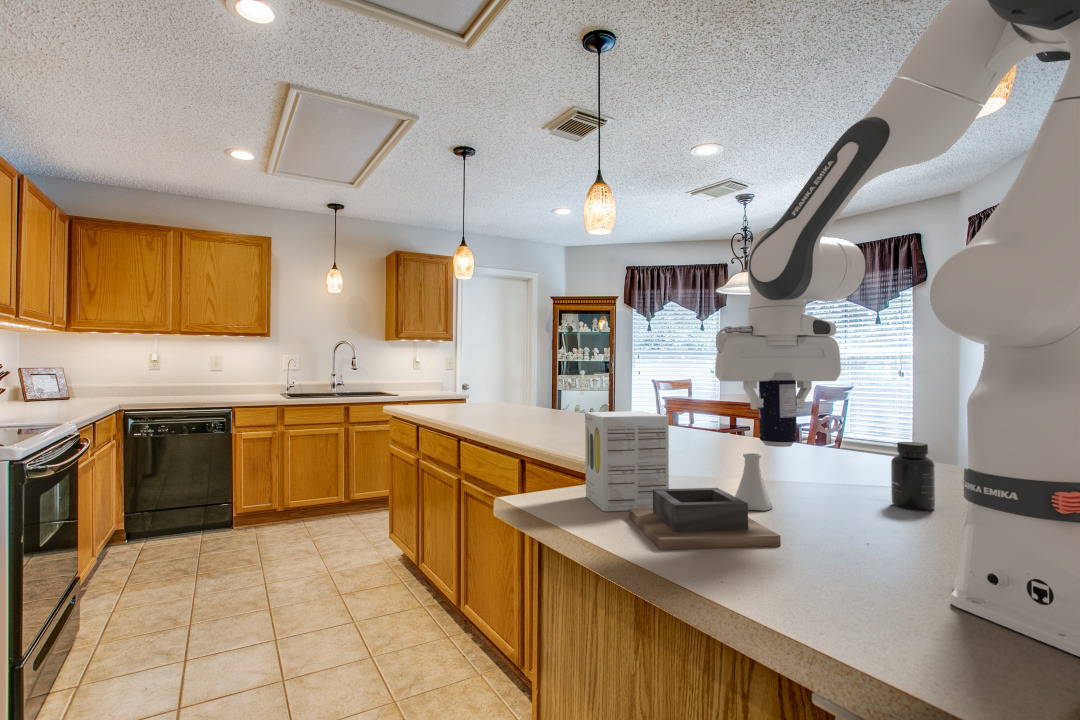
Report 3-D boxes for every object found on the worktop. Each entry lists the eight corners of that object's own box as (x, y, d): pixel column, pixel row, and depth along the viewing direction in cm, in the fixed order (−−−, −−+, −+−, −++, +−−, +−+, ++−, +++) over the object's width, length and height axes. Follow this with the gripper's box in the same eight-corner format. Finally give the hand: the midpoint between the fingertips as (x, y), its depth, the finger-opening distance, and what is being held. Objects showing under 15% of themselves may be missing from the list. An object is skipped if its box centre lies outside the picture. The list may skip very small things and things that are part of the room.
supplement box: (584, 496, 113) (583, 411, 114) (644, 493, 116) (644, 410, 116) (602, 512, 100) (602, 416, 101) (670, 509, 103) (670, 415, 103)
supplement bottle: (883, 504, 105) (882, 442, 105) (905, 501, 108) (904, 440, 108) (921, 513, 99) (919, 446, 99) (943, 509, 102) (942, 444, 102)
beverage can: (790, 443, 94) (789, 373, 94) (801, 447, 89) (800, 373, 89) (755, 442, 95) (755, 373, 95) (764, 447, 89) (764, 373, 90)
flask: (729, 509, 102) (728, 455, 103) (735, 501, 109) (734, 450, 109) (771, 513, 99) (770, 458, 99) (774, 505, 105) (774, 452, 106)
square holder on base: (780, 545, 80) (780, 508, 81) (660, 549, 79) (660, 511, 79) (727, 514, 98) (727, 483, 98) (629, 517, 97) (628, 485, 97)
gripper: (723, 324, 88) (724, 410, 88) (846, 325, 90) (847, 409, 89) (708, 327, 95) (709, 408, 94) (823, 328, 96) (824, 407, 96)
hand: (777, 409), depth 92 cm, fingers closed on beverage can, 6 cm apart
